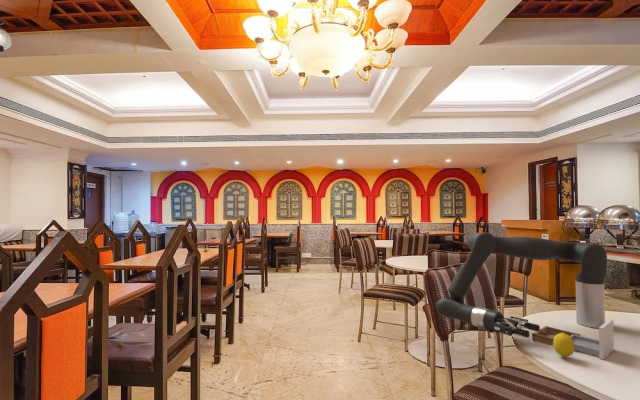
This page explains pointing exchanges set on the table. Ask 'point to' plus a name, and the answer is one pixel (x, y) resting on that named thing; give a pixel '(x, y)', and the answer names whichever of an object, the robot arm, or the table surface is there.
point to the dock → (547, 340)
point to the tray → (596, 341)
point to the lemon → (563, 345)
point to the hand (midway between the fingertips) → (534, 331)
